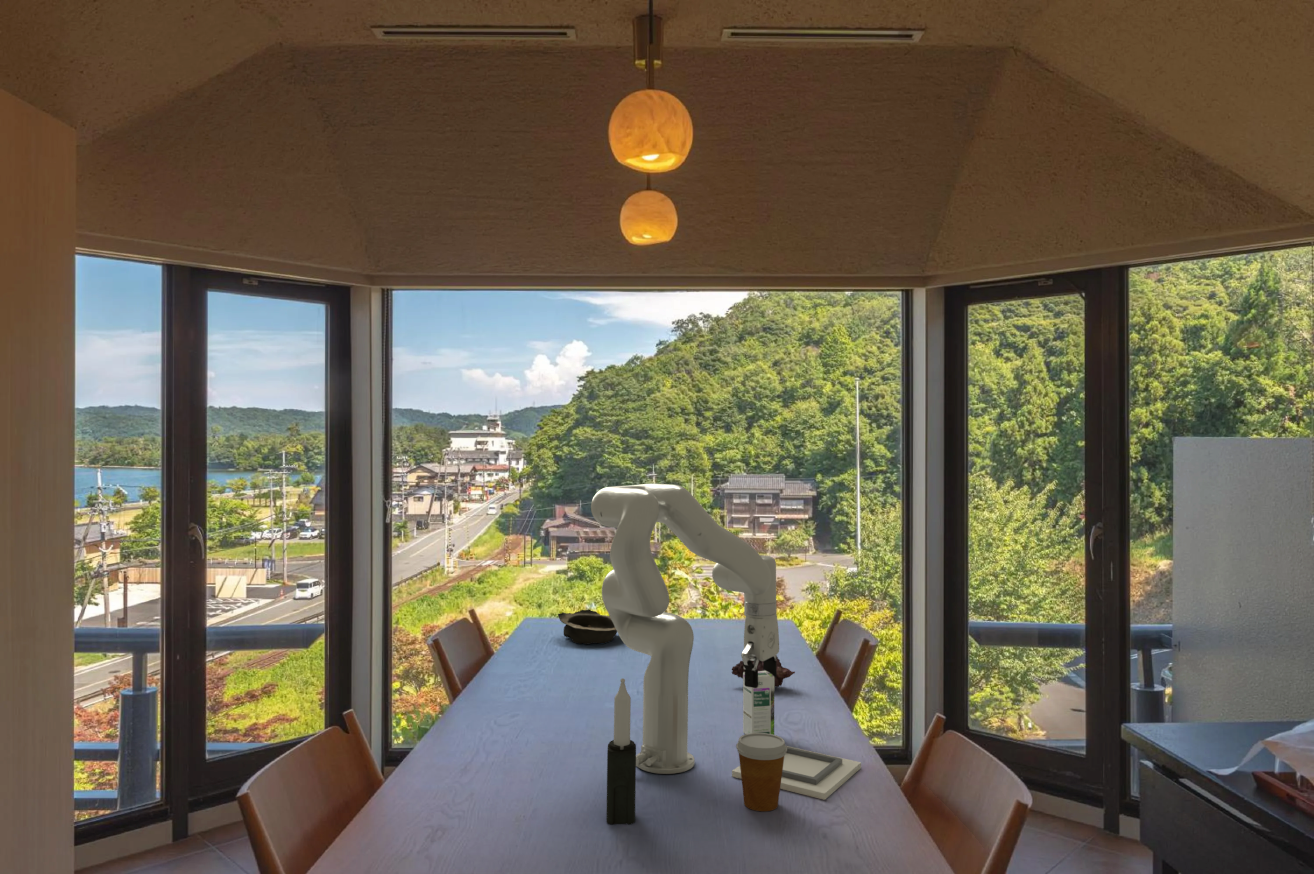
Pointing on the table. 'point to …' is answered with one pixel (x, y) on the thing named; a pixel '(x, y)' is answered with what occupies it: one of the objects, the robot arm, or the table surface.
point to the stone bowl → (588, 627)
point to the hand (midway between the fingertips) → (760, 681)
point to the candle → (621, 764)
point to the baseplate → (813, 772)
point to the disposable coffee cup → (761, 769)
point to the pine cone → (778, 680)
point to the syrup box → (759, 705)
